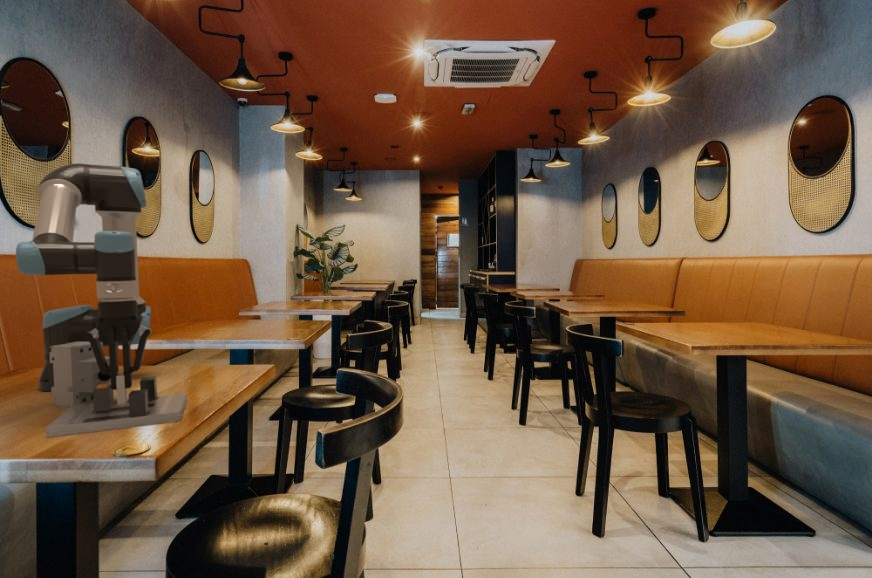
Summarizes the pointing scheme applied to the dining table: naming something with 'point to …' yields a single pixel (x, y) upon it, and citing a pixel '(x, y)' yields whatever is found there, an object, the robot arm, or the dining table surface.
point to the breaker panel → (121, 412)
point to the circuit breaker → (75, 373)
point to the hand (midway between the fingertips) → (122, 402)
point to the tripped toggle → (103, 397)
